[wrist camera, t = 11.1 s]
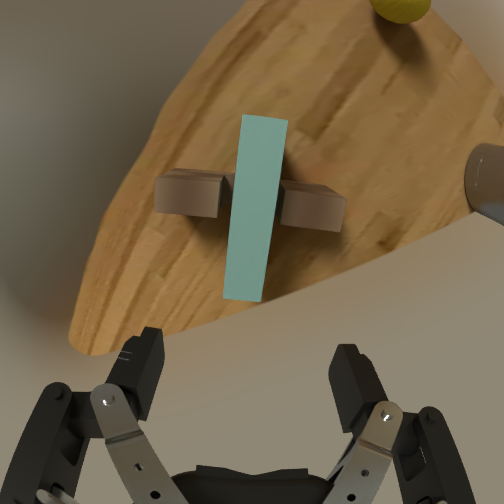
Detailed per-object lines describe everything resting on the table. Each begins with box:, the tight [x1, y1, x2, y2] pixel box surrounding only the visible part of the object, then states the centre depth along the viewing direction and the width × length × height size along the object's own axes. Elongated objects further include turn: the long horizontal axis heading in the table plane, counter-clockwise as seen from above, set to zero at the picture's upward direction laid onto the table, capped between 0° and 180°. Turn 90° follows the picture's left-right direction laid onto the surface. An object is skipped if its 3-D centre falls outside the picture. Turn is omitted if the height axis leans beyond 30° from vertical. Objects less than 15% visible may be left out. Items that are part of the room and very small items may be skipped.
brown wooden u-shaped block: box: [154, 168, 347, 232], centre depth 22 cm, size 14×3×6 cm, turn 83°
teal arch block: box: [223, 114, 288, 302], centre depth 21 cm, size 12×3×9 cm, turn 173°
